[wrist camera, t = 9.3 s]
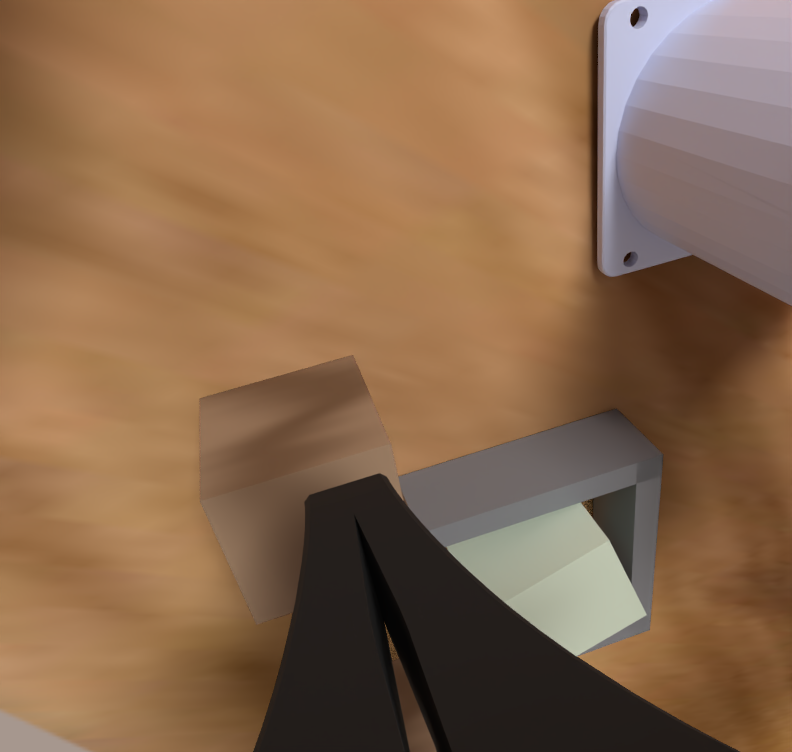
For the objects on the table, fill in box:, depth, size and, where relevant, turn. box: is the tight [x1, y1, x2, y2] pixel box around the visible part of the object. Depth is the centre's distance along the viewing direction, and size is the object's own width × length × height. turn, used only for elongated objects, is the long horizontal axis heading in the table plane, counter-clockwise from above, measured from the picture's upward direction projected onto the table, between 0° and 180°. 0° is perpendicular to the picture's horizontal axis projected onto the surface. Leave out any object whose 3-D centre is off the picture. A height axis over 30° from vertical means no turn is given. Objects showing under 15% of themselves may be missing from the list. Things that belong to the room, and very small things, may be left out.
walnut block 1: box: [200, 355, 403, 625], centre depth 20 cm, size 5×5×5 cm
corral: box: [398, 409, 663, 656], centre depth 26 cm, size 9×10×3 cm
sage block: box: [447, 502, 647, 656], centre depth 25 cm, size 5×5×5 cm
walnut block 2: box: [392, 659, 437, 752], centre depth 28 cm, size 5×5×5 cm
